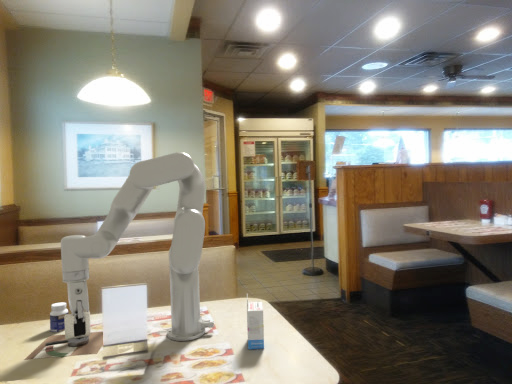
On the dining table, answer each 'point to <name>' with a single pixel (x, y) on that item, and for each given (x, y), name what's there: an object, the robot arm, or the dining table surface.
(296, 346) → the dining table surface
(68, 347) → the brown flat square slab
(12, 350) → the dining table surface
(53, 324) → the pill bottle
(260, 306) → the ink box
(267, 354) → the dining table surface
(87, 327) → the white piece
